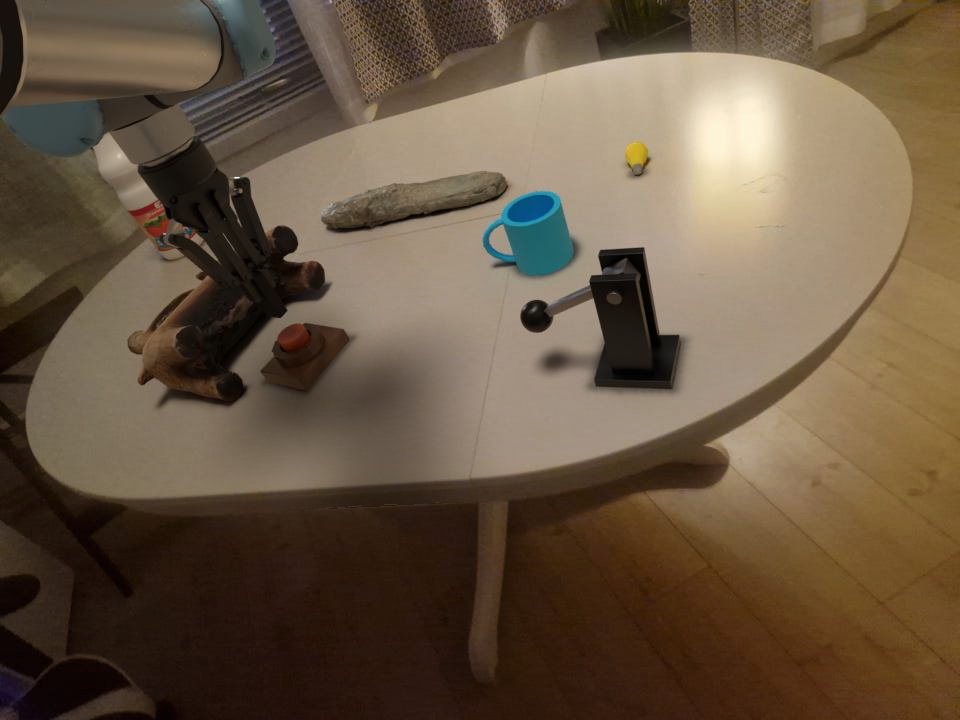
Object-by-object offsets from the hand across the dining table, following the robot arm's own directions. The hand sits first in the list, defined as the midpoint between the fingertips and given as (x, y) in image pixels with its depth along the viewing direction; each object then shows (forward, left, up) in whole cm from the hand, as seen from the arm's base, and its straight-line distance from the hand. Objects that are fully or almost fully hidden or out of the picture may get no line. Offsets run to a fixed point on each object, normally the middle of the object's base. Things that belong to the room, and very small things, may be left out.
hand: (277, 313), depth 85 cm
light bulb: (+49, -31, -9) cm, 58 cm away
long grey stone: (+37, +6, -9) cm, 39 cm away
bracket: (+8, -45, -9) cm, 47 cm away
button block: (0, 0, -9) cm, 9 cm away
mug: (+25, -24, -9) cm, 35 cm away
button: (0, 0, -5) cm, 5 cm away
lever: (+8, -41, -1) cm, 41 cm away
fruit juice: (+22, +57, -9) cm, 62 cm away
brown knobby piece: (+2, +19, -9) cm, 22 cm away
